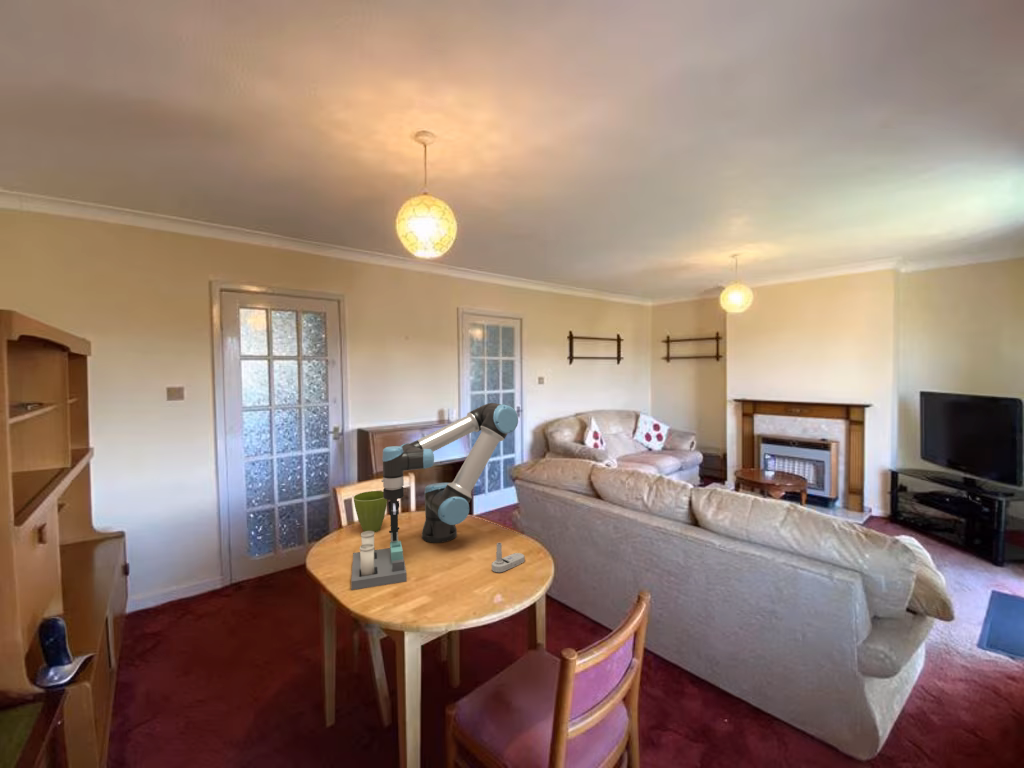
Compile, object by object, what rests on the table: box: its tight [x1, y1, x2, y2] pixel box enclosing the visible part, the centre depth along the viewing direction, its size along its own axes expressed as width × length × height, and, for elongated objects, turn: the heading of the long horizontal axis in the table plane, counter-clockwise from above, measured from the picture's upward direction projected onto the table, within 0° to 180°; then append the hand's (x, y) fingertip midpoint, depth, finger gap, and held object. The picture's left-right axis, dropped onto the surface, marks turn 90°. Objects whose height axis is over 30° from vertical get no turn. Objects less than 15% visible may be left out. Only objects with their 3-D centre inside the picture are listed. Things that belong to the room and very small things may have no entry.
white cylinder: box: [360, 531, 376, 559], centre depth 168 cm, size 5×5×12 cm
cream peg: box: [359, 544, 375, 577], centre depth 156 cm, size 5×5×12 cm
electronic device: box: [491, 542, 526, 573], centre depth 166 cm, size 5×10×15 cm
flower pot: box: [353, 490, 388, 533], centre depth 203 cm, size 15×15×16 cm
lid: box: [389, 540, 404, 562], centre depth 167 cm, size 4×10×5 cm, turn 18°
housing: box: [350, 547, 408, 591], centre depth 163 cm, size 18×24×6 cm
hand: (394, 547), depth 172 cm, fingers closed
